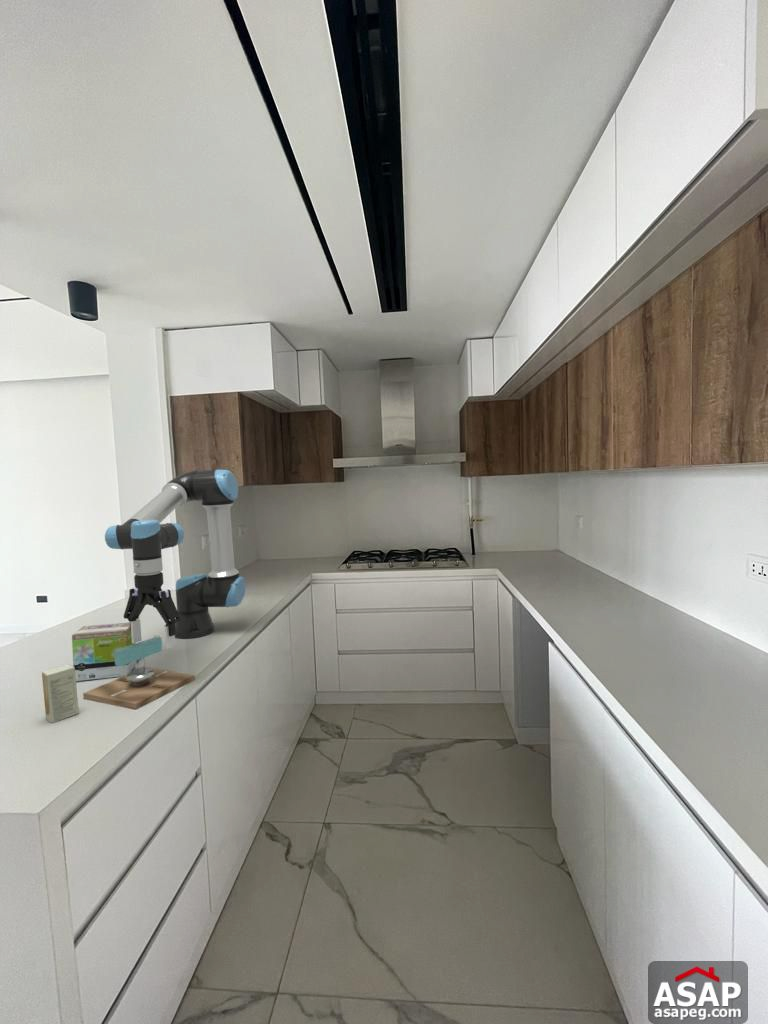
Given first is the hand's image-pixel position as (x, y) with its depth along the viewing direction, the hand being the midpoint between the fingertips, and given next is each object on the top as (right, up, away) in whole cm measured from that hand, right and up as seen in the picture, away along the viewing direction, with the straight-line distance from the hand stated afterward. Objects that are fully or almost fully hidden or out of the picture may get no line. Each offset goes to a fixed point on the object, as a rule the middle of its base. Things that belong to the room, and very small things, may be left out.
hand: (153, 644), depth 137 cm
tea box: (-19, -12, +9) cm, 24 cm away
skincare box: (-13, -13, -20) cm, 27 cm away
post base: (-1, -12, -4) cm, 12 cm away
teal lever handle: (-2, -8, -4) cm, 9 cm away
